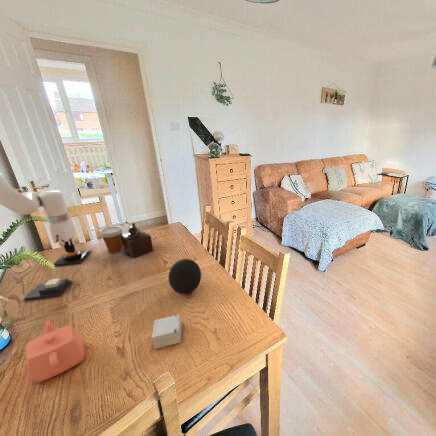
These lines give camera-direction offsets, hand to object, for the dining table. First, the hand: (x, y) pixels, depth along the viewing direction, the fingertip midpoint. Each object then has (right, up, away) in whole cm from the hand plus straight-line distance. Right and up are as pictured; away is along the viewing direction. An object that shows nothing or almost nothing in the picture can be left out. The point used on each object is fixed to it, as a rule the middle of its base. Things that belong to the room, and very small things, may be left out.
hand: (71, 251), depth 117 cm
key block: (0, -4, +1) cm, 4 cm away
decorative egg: (+65, -15, -16) cm, 68 cm away
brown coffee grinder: (+29, -2, +9) cm, 30 cm away
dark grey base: (+10, -13, -21) cm, 27 cm away
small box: (+68, -24, -37) cm, 81 cm away
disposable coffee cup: (+14, -1, +11) cm, 18 cm away
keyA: (+12, -11, -21) cm, 27 cm away
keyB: (0, -2, +1) cm, 2 cm away
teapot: (+41, -26, -47) cm, 67 cm away
